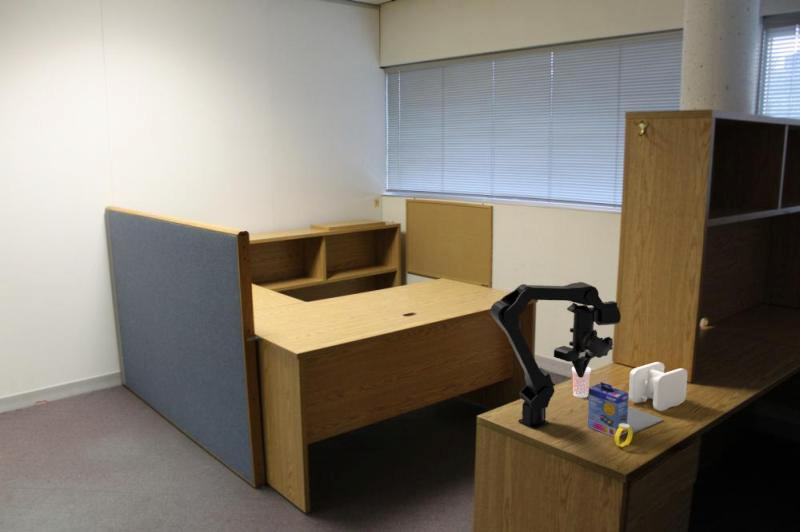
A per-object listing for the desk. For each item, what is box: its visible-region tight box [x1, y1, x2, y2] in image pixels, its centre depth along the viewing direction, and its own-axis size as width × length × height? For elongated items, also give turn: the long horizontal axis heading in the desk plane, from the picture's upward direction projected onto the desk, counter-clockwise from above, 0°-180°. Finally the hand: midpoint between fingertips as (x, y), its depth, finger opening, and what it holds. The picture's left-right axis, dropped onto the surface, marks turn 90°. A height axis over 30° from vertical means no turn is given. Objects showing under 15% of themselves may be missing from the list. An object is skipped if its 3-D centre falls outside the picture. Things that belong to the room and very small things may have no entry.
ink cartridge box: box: [587, 381, 629, 438], centre depth 190 cm, size 10×6×14 cm, turn 39°
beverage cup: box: [571, 365, 592, 399], centre depth 216 cm, size 6×6×14 cm
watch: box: [614, 423, 634, 448], centre depth 181 cm, size 6×3×6 cm, turn 124°
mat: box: [627, 406, 665, 434], centre depth 197 cm, size 15×12×1 cm
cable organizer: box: [628, 361, 688, 412], centre depth 208 cm, size 15×11×12 cm
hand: (580, 377), depth 197 cm, fingers closed
